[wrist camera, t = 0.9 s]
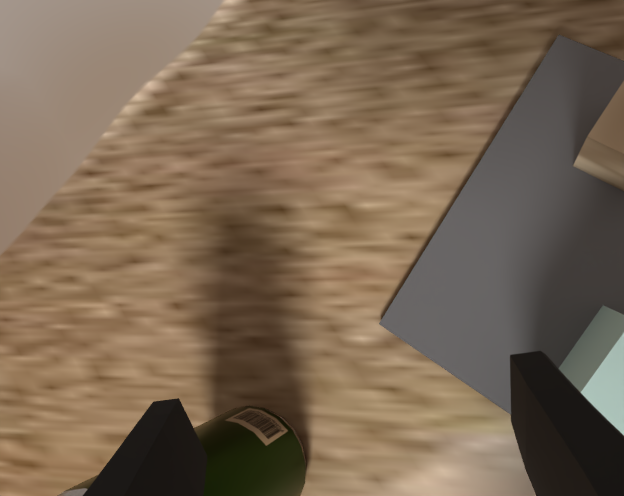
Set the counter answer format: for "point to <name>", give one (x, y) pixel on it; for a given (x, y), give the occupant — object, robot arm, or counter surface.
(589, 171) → the beech post
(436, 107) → the counter surface
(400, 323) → the rubber mat
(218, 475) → the beer can
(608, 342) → the pale green block
